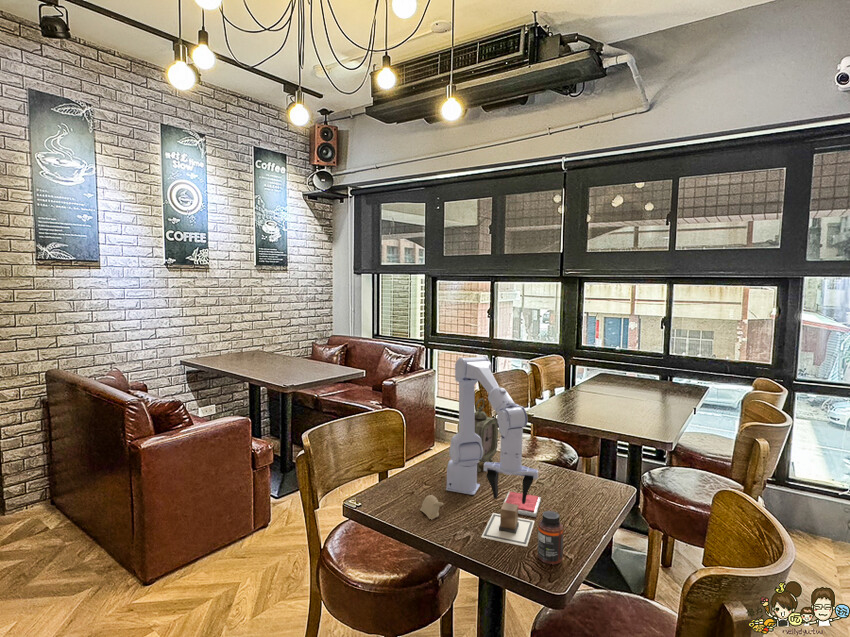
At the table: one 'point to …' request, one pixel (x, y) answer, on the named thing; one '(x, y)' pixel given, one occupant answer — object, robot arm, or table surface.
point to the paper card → (511, 538)
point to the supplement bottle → (550, 538)
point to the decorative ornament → (431, 506)
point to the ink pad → (524, 509)
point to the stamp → (509, 518)
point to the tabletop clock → (486, 434)
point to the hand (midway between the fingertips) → (509, 499)
